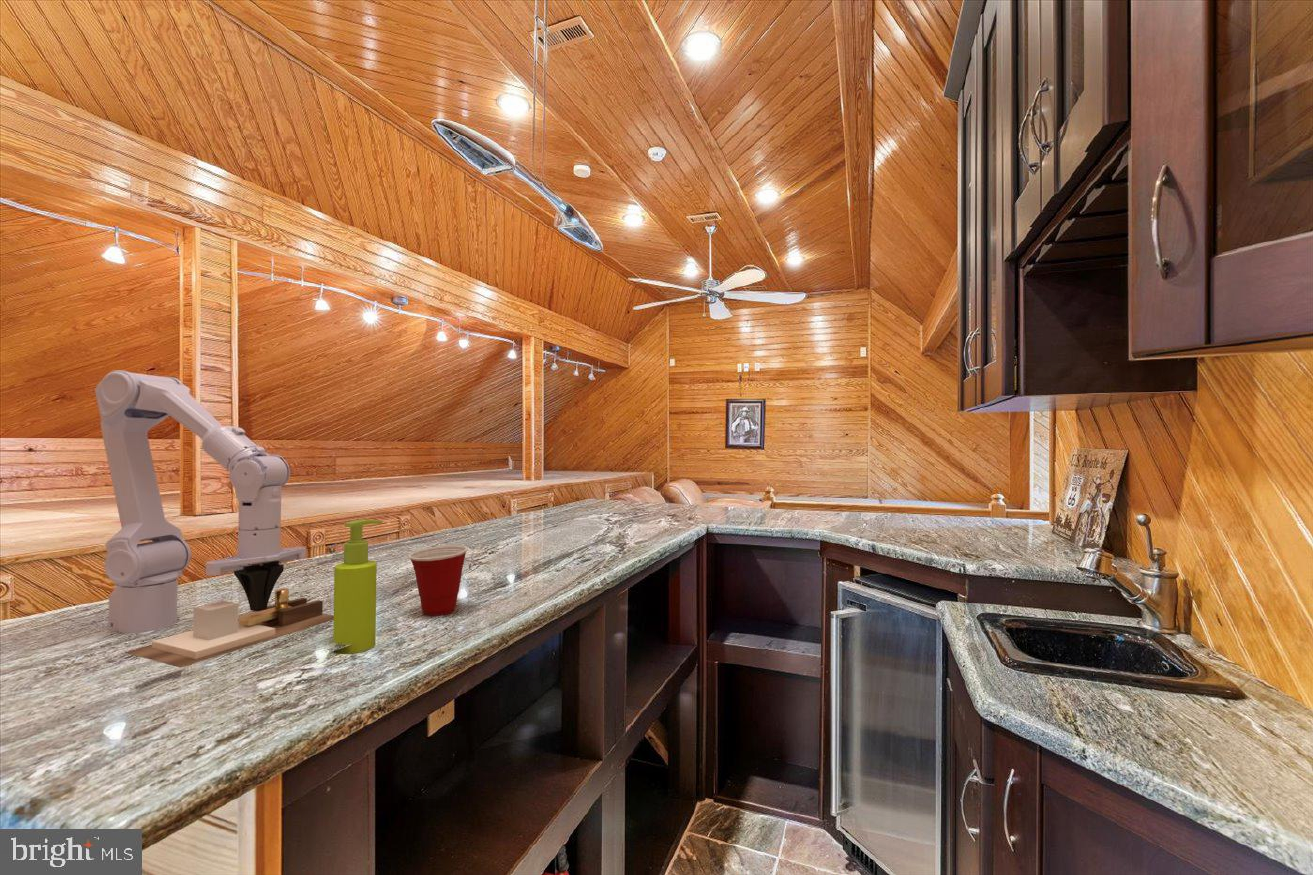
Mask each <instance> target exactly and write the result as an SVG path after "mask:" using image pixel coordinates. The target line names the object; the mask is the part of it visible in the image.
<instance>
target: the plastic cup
mask: <svg viewBox="0 0 1313 875" xmlns="http://www.w3.org/2000/svg"><path fill="white" fill-rule="evenodd" d="M468 550H469V547H468V546H466V545H461V544H445V545H437V546H430V547H425V548H421V549H417V550H415V551H413V552H412V551H411V552H409V554H408V555H407V557H408V559H409V560H410V561H411V564H412V566H413V570H414V575H415V579H416V584H417V590H418V596H419V599H420V605H421V610H422V613H423V614H424V615H425V616H433V617H434V616H435V617H436V616H442V615H443V616H444V615H448V614H451V613H453V612H454V611H455V609H456V605H457V602H458V601H457V600H458V593H459V592H460V585H461V581H462V580H461V579H462V575H463V574H462V573H463V567H464V564H465V559H466V553H467V551H468Z"/></svg>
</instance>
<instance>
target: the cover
mask: <svg viewBox="0 0 1313 875" xmlns="http://www.w3.org/2000/svg"><path fill="white" fill-rule="evenodd" d="M239 605H240V604H239V603H237V602H231V601H226V600H219V601H215V602H212V603H211V602H210V603H207V604H202V605H199V606H193V619H192V620H193V622H192V624H193V629H192V630H188V631H185V632H182V633H178V634H174V635H170V636H167V637H163V638H158V639H155V640H154V639H153V640H152V641H151V645H152V648H154V649H158V650H162V651H166V652H170V653H174V654H178V655H182V656H186V657H189V658H193V659H198V658H201V657H204V656H207V655H211V654H214V653H217V652H220V651H224V650H227V649H230V648H233V647H237V646H240V645H243V644H246V643H250V642H253V641H256V640H259V639H263V638H266V637H269V636H272V635H275V628H271V627H266V626H261V625H256V624H253V625H250V626H247V625H242V624H239Z"/></svg>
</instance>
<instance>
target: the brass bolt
mask: <svg viewBox="0 0 1313 875" xmlns="http://www.w3.org/2000/svg"><path fill="white" fill-rule="evenodd" d="M289 598H290V589H289V588H286V587H285V588H279V589H275V590H274V605H275V607H274V608H270V609H266V610H262V611H259V612H257V611H254V612H250V613H248V614H245V615H240V616H239V615H238V621H239V624H242V625H247V626H250V625H253V624H257V623H260V622H264V621H267V620H271V619H275V618H278V611H280V610H283V609H287V608H291V606H289V601H290V599H289Z"/></svg>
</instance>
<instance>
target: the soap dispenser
mask: <svg viewBox="0 0 1313 875" xmlns="http://www.w3.org/2000/svg"><path fill="white" fill-rule="evenodd" d="M382 523H383V521H381V520H376V519H366V518H365V519H357V520H350V521H348V522H347V521H346V522H344V527H347V528H350V531H349V540H347V541H345V542H344V543H343V562H342V563H337V564H336V565H334V568H333V570H334V572H333V573H334V576H333V578H334V579H333V585H334V586H333V616H334V620H333V626H332V627H333V632H332V633H333V636H332V638H333V639H332V642H333V643H334V644H336V645H341V646H342V645H343V647H341V648H338V649H336V650H333V652H334V654H338V655H353V654H358V653H363V652H367V651H368V650H371V649H372V648H374V647H375V646H376V641H377V640H376V639H377V636H376V633H377V631H376V630H377V629H376V626H377V571H378V568H377V564H378V563H377V562H376V561H372V560H369V541H367V540H365V539H364V538H363V526H367V525H372V524H374V525H381V524H382ZM344 645H345V646H344Z"/></svg>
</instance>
